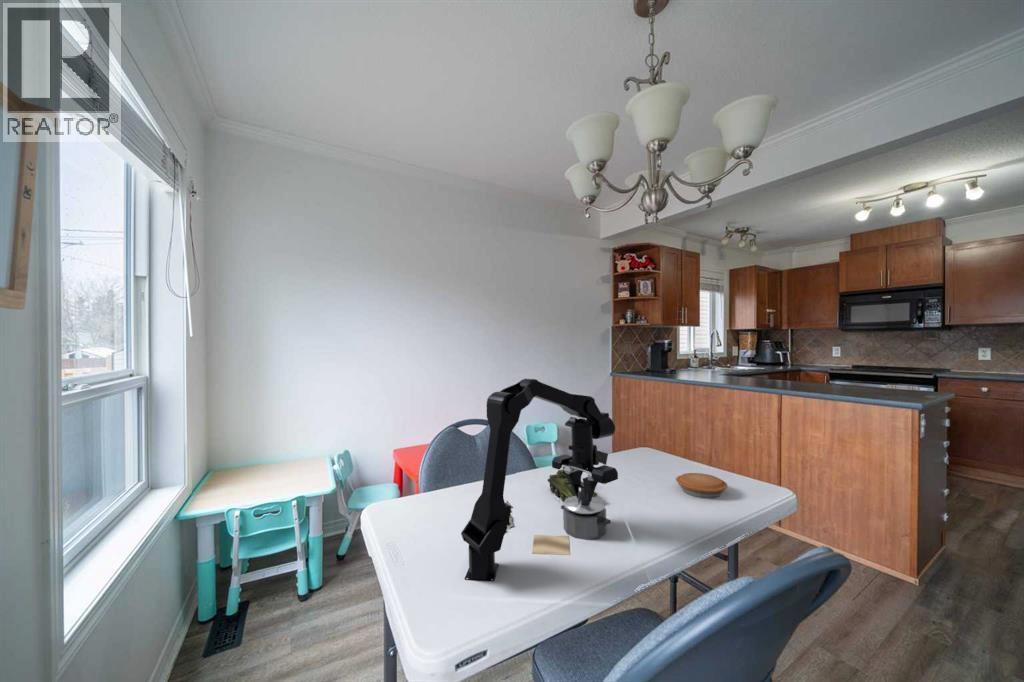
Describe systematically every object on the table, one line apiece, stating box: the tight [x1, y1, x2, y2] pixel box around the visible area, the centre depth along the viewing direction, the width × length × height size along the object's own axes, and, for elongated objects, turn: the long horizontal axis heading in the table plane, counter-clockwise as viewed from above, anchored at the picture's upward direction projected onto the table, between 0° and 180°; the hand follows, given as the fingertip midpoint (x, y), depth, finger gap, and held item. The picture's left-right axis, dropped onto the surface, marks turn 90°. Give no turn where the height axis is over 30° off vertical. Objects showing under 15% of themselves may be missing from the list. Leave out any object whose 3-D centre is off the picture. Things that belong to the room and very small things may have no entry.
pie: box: [675, 472, 728, 500], centre depth 124 cm, size 16×16×5 cm
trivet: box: [531, 534, 571, 556], centre depth 91 cm, size 9×9×1 cm
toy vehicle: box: [547, 466, 598, 503], centre depth 123 cm, size 9×20×10 cm, turn 19°
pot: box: [560, 504, 611, 541], centre depth 99 cm, size 14×11×6 cm
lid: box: [563, 484, 606, 515], centre depth 99 cm, size 11×11×6 cm
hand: (583, 499), depth 99 cm, fingers closed on lid, 3 cm apart
